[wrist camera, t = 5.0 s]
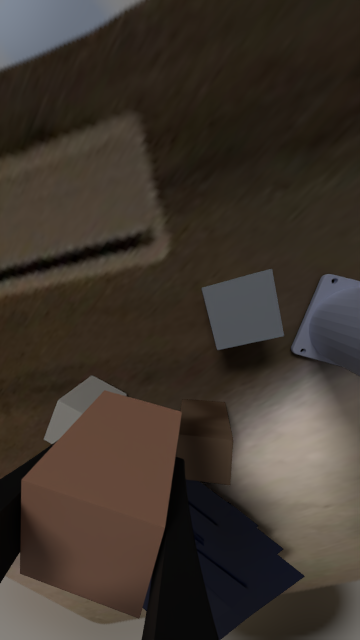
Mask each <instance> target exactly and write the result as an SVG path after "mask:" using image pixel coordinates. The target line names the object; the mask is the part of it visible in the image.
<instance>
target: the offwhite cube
mask: <svg viewBox="0 0 360 640" xmlns="http://www.w3.org/2000/svg"><path fill="white" fill-rule="evenodd" d="M104 390H105V391H109V392H113V393H116V394H120V395H123V396H127V394H126V393H124V392H122V391H120V390H118V389H117V388H115V387H113V386H111V385H109V384H107V383H105V382H104V381H102V380H100V379H98V378H96V377H94V376H91V377H89V378H88V379H86V380H85V381H84V382H82V383H81V384H80V385H78V386H77V387H75V388H74V389H73V390H71V391H70V392H69V393H67V394H66V395H65V396H63V397H62V398H60V399H59V400H58V402H57V405H56V407H55V410H54V413H53V416H52V418H51V421H50V424H49V426H48V429H47V432H46V435H45V437H44V440H46V441H48V442H50V443H51V444H53V443H55V442H56V441H57V440H59V439H60V438H61V437H62V436H63V434H64V433H65V432H66V431H67V430H68V429H69V428H70V427H71V426H72V425H73V424H74V423H75V422H76V420H77V419H78V418H79V417H80V416H81V415H82V414H83V413H84V412H85V411H86V410H87V409H88V407H89V406H90V405H91V404H92V403H93V402H94V401H95V400H96V399H97V398H98V397H99V396H100V395H101V393H102V392H103V391H104Z"/></svg>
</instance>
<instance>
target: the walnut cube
mask: <svg viewBox="0 0 360 640" xmlns="http://www.w3.org/2000/svg"><path fill="white" fill-rule="evenodd" d="M180 412H182V415H181V422H180V429H179V435H178V442H177V457H179V458H182V459H184V461H185V478H186V479H187V480H195V481H202V482H210V483H218V484H225V485H230V480H231V464H232V449H233V437H232V432H231V428H230V423H229V418H228V414H227V409H226V404H225V402H215V401H202V400H188V399H182V404H181V410H180Z"/></svg>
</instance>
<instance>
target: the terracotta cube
mask: <svg viewBox="0 0 360 640" xmlns="http://www.w3.org/2000/svg"><path fill="white" fill-rule="evenodd" d="M181 415H182V412H180V411H177V410H173V409H170V408H166V407H163V406H159V405H155V404H152V403H148V402H145V401H141V400H138V399H134V398H130V397H127V396H123V395H120V394H116V393H113V392H109V391H105V390H104V391H103V392H102V393H101V395H100V396H99V397H98V398H97V399H96V400H95V401H94V402H93V403H92V404H91V405H90V406H89V407H88V409H87V410H86V411H85V412H84V413H83V414H82V415H81V416H80V417H79V418H78V419H77V420H76V422H75V423H74V424H73V425H72V426H71V427H70V428H69V429H68V430H67V431H66V432H65V433H64V434H63V436H62V437H61V438H60V439H59V440H58V441H57V442H56V443H55V444H54V445H53V446H52V447H51V448H50V450H49V451H48V452H47V453H46V454H45V455H44V456H43V457H42V458H41V459H40V460H39V461H38V462H37V464H36V465H35V466H34V467H33V468H32V469H31V470H30V471H29V472H28V473H27V474H26V475H25V477H24V478H23V479H22V480H21V546H20V574H23V575H25V576H28V577H31V578H33V579H36V580H38V581H41V582H44V583H46V584H49V585H52V586H54V587H57V588H60V589H62V590H65V591H68V592H70V593H73V594H75V595H78V596H81V597H83V598H86V599H89V600H91V601H94V602H97V603H99V604H102V605H105V606H107V607H110V608H112V609H115V610H118V611H120V612H123V613H126V614H128V615H131V616H134V617H136V618H140V615H141V611H142V607H143V604H144V600H145V597H146V593H147V590H148V586H149V583H150V579H151V576H152V572H153V568H154V565H155V561H156V558H157V554H158V551H159V547H160V544H161V540H162V537H163V533H164V529H165V524H166V517H167V511H168V504H169V497H170V490H171V483H172V476H173V470H174V463H175V456H176V449H177V442H178V435H179V429H180V422H181Z"/></svg>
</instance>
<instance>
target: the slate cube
mask: <svg viewBox="0 0 360 640" xmlns="http://www.w3.org/2000/svg"><path fill="white" fill-rule="evenodd" d="M202 292H203V296H204V300H205V304H206V308H207V312H208V316H209V320H210V324H211V328H212V332H213V336H214V340H215V343H216V347H217V350H221V349H225V348H230V347H235V346H239V345H244V344H249V343H253V342H258V341H263V340H268V339H272V338H277V337H282V336H284V333H283V327H282V322H281V317H280V311H279V306H278V300H277V295H276V289H275V284H274V278H273V273H272V269H270V270H266V271H262V272H258V273H254V274H250V275H247V276H243V277H239V278H236V279H232V280H229V281H225V282H222V283H218V284H214V285H211V286H207V287H204V288H202Z"/></svg>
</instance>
